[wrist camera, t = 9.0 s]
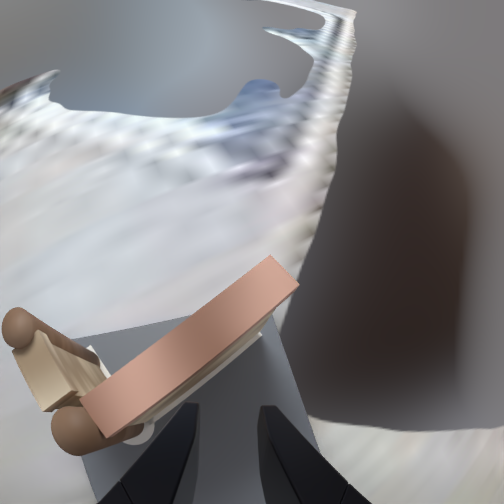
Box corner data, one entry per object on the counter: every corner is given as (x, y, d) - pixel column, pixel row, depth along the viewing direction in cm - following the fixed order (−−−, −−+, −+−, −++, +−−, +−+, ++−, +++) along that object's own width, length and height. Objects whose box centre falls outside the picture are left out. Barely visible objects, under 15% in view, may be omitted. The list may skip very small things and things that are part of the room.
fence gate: (128, 442, 15) (71, 464, 8) (109, 418, 16) (42, 421, 8) (264, 334, 20) (302, 284, 13) (245, 313, 21) (269, 250, 13)
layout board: (339, 512, 15) (342, 514, 14) (129, 561, 11) (127, 564, 10) (264, 299, 23) (266, 296, 22) (60, 343, 18) (57, 341, 18)
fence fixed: (127, 398, 17) (68, 389, 9) (108, 412, 16) (39, 411, 8) (91, 346, 18) (22, 299, 10) (73, 359, 18) (-3, 321, 9)
